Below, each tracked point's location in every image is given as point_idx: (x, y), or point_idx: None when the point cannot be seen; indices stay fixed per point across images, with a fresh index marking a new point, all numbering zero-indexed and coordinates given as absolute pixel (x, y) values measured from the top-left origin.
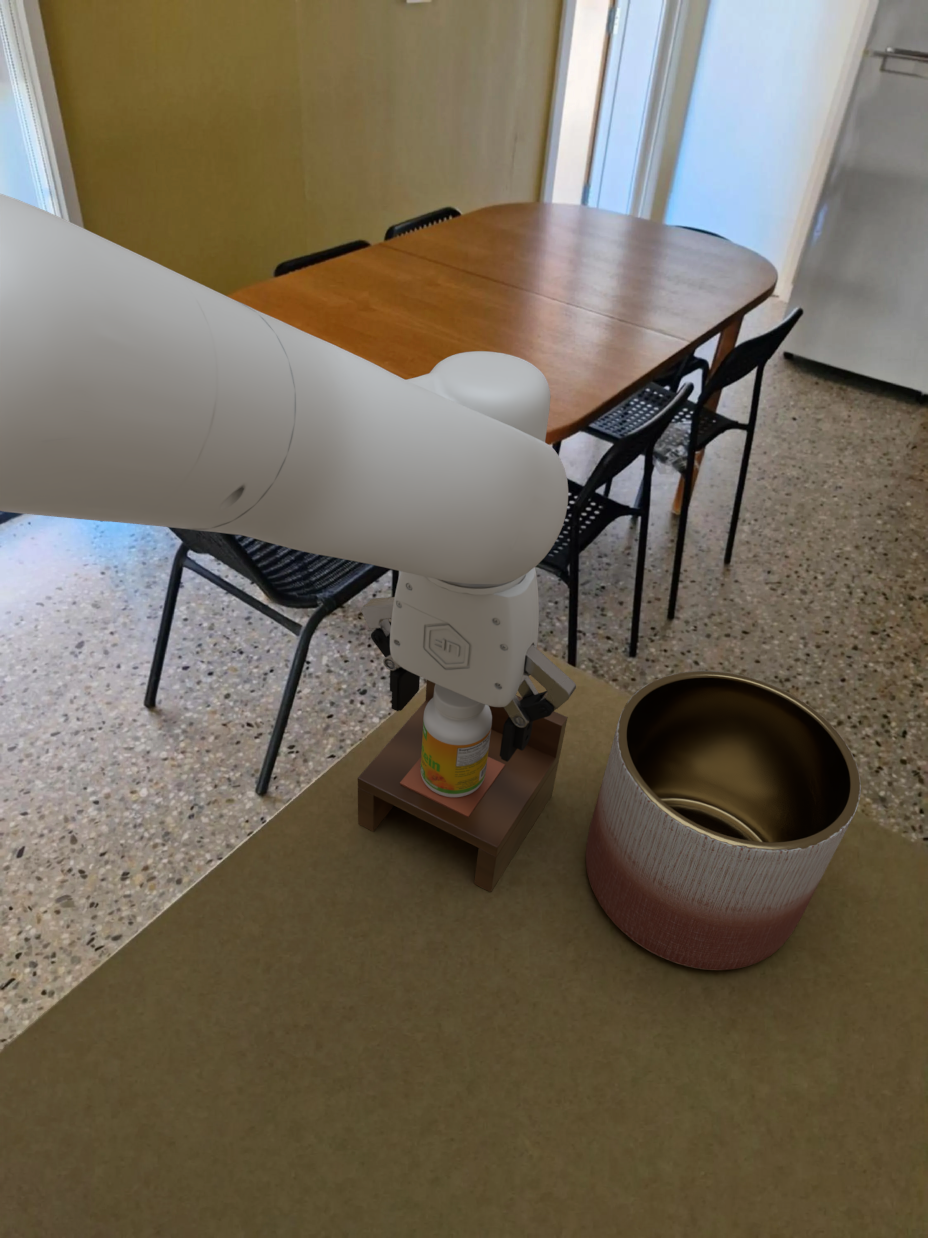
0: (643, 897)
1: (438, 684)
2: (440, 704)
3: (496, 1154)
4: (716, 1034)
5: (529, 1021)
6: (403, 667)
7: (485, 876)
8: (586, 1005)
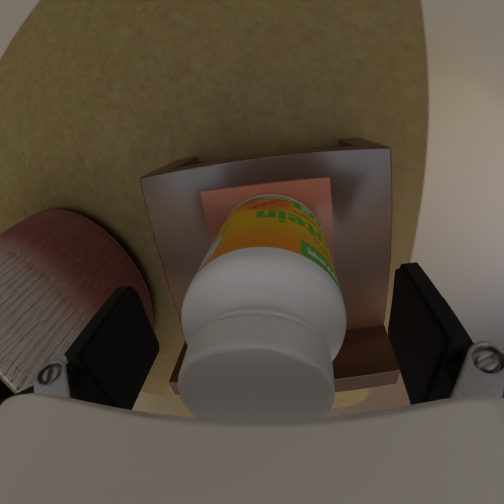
0: (18, 233)
1: (242, 427)
2: (272, 335)
3: (56, 13)
4: (10, 190)
5: (79, 89)
6: (463, 404)
7: (176, 162)
8: (58, 136)
